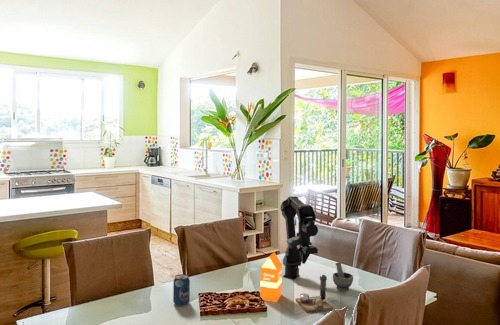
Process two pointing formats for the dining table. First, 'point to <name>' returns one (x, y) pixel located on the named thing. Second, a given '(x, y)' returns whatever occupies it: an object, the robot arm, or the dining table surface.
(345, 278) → the mortar and pestle
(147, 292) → the dining table surface
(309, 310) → the base
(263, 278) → the orange juice
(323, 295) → the lever
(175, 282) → the soda can
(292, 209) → the robot arm
